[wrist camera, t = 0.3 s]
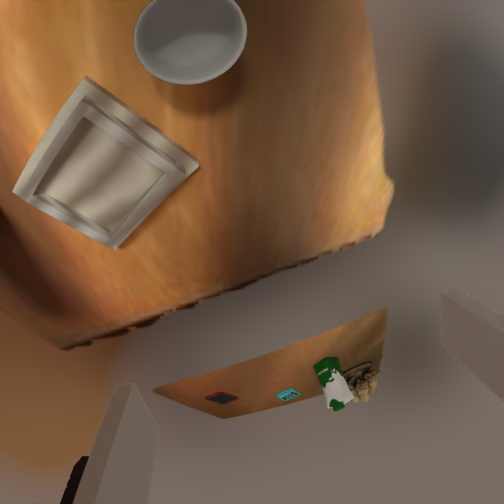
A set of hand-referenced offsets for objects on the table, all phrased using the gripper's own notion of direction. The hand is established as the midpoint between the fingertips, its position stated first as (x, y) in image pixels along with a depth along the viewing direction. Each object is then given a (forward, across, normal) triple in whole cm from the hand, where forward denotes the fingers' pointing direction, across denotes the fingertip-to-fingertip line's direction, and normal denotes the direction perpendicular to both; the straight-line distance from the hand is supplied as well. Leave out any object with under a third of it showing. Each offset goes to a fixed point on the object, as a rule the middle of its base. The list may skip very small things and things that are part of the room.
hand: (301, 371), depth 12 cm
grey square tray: (+34, -17, +13) cm, 40 cm away
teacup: (+25, 0, +28) cm, 37 cm away
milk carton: (+90, +18, -67) cm, 114 cm away
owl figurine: (+106, +34, -89) cm, 142 cm away
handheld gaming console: (+107, +2, -92) cm, 140 cm away
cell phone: (+93, -24, -73) cm, 121 cm away
